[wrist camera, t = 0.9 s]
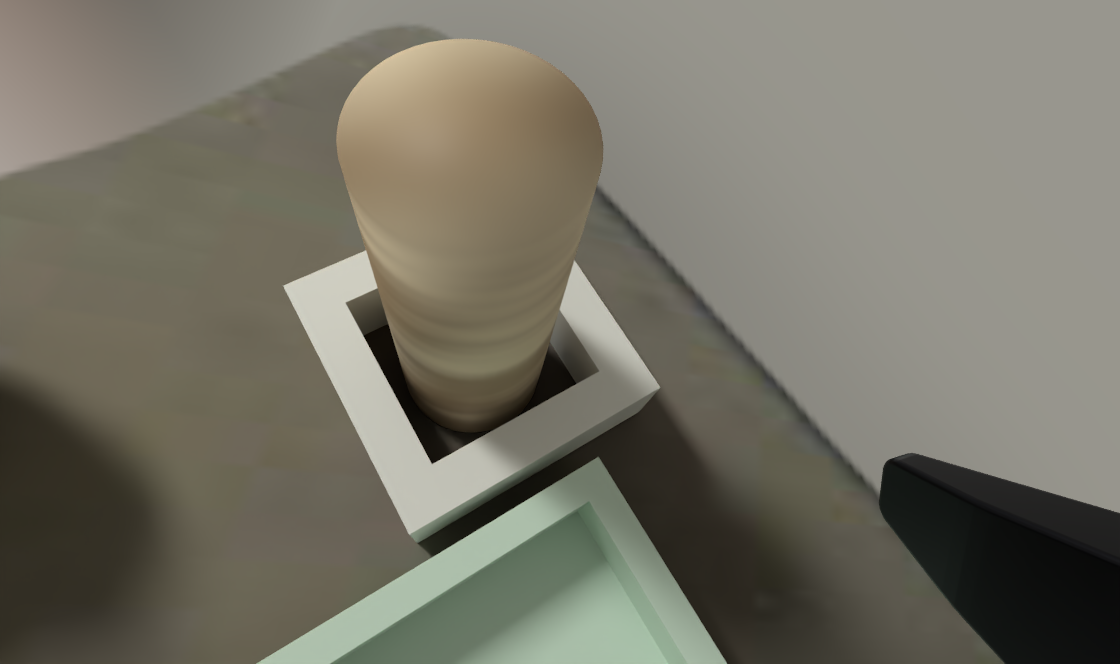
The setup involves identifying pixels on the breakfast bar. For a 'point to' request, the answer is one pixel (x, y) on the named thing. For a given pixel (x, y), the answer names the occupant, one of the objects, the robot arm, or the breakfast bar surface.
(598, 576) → the pale green tray
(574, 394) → the white square frame
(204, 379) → the breakfast bar surface
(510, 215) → the beech dowel
